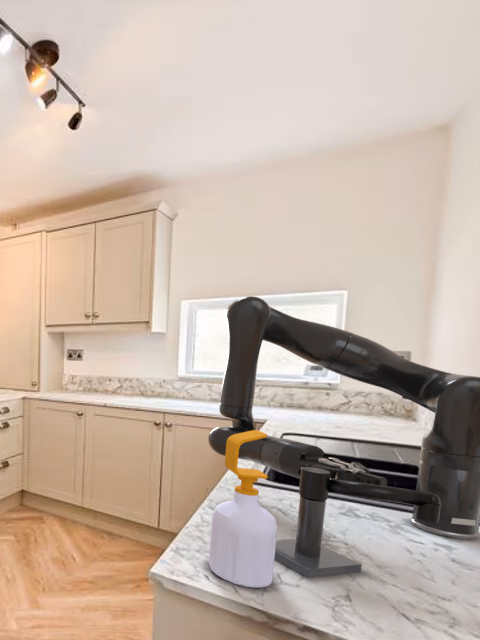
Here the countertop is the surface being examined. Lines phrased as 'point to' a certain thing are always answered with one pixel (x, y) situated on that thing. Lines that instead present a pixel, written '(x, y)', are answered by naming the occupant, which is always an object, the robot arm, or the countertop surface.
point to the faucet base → (314, 564)
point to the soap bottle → (243, 526)
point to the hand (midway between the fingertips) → (383, 484)
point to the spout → (368, 492)
